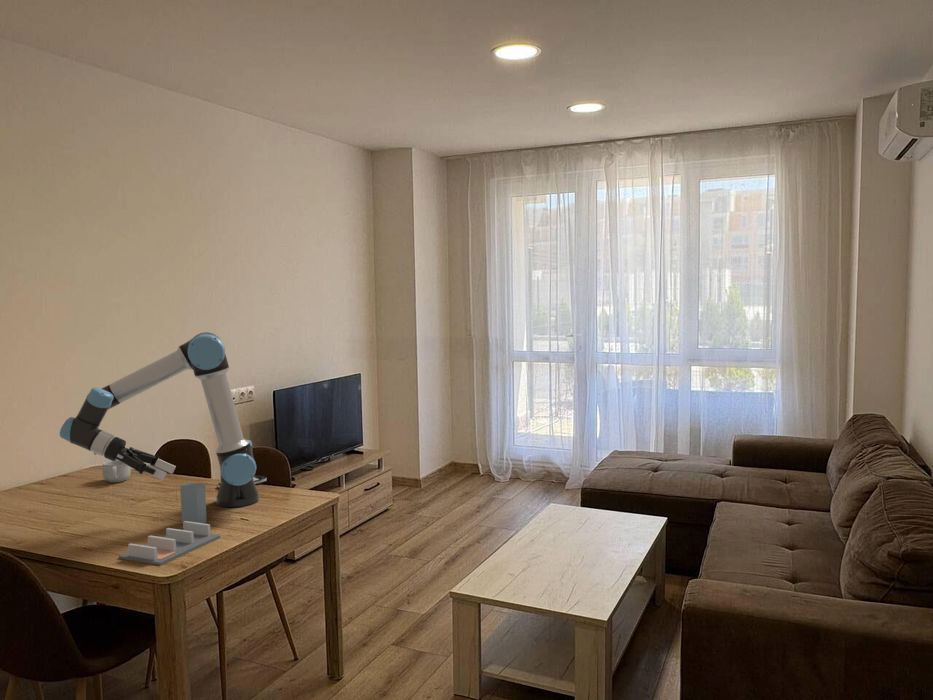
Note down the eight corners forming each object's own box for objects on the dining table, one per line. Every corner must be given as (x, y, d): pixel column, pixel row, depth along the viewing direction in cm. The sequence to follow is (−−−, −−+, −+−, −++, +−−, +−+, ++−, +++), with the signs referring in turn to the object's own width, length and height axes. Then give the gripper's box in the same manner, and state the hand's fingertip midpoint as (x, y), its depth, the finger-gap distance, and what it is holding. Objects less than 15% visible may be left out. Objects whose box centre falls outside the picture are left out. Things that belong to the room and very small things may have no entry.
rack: (180, 531, 239) (180, 519, 239) (220, 537, 233) (219, 524, 233) (118, 558, 216) (118, 544, 216) (160, 565, 210) (159, 550, 210)
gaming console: (224, 492, 287) (223, 486, 287) (214, 488, 294) (214, 481, 294) (269, 483, 300) (269, 477, 299) (260, 479, 306) (259, 473, 306)
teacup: (108, 478, 310) (108, 459, 309) (135, 477, 311) (134, 458, 310) (96, 486, 296) (95, 467, 295) (124, 485, 297) (123, 466, 296)
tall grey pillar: (190, 519, 252) (188, 482, 251) (206, 521, 250) (205, 484, 249) (181, 522, 249) (180, 485, 248) (198, 525, 246) (196, 487, 245)
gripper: (115, 451, 255) (172, 477, 258) (91, 461, 230) (155, 490, 233) (125, 432, 255) (182, 458, 258) (102, 440, 231) (166, 468, 234)
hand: (169, 473), depth 246 cm, fingers open, 13 cm apart
